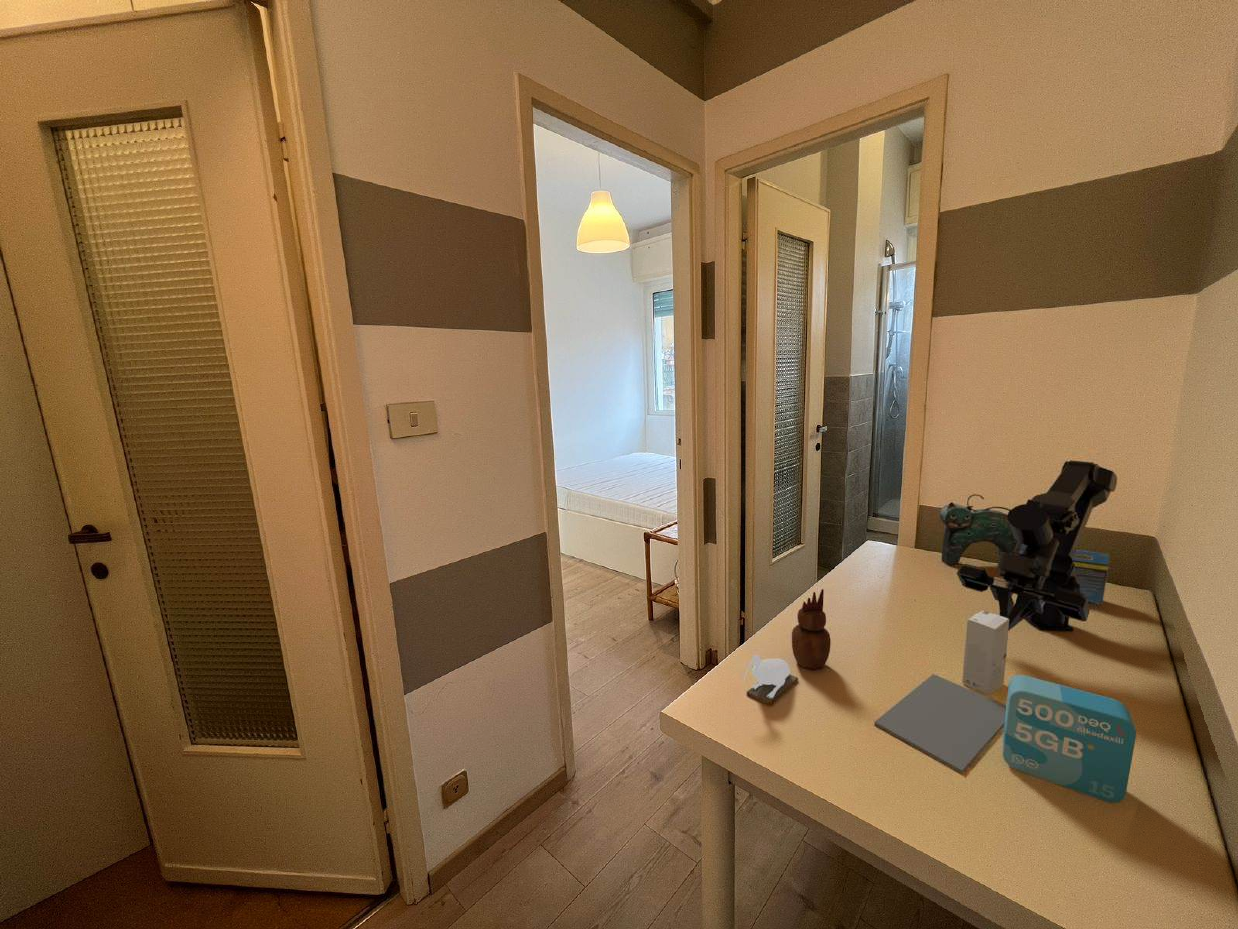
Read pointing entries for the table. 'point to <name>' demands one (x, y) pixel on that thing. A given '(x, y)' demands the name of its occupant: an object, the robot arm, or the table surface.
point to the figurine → (770, 679)
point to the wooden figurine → (811, 634)
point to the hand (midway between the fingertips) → (1003, 630)
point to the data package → (1069, 737)
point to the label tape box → (1092, 574)
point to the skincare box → (985, 652)
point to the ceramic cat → (974, 530)
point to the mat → (945, 721)
